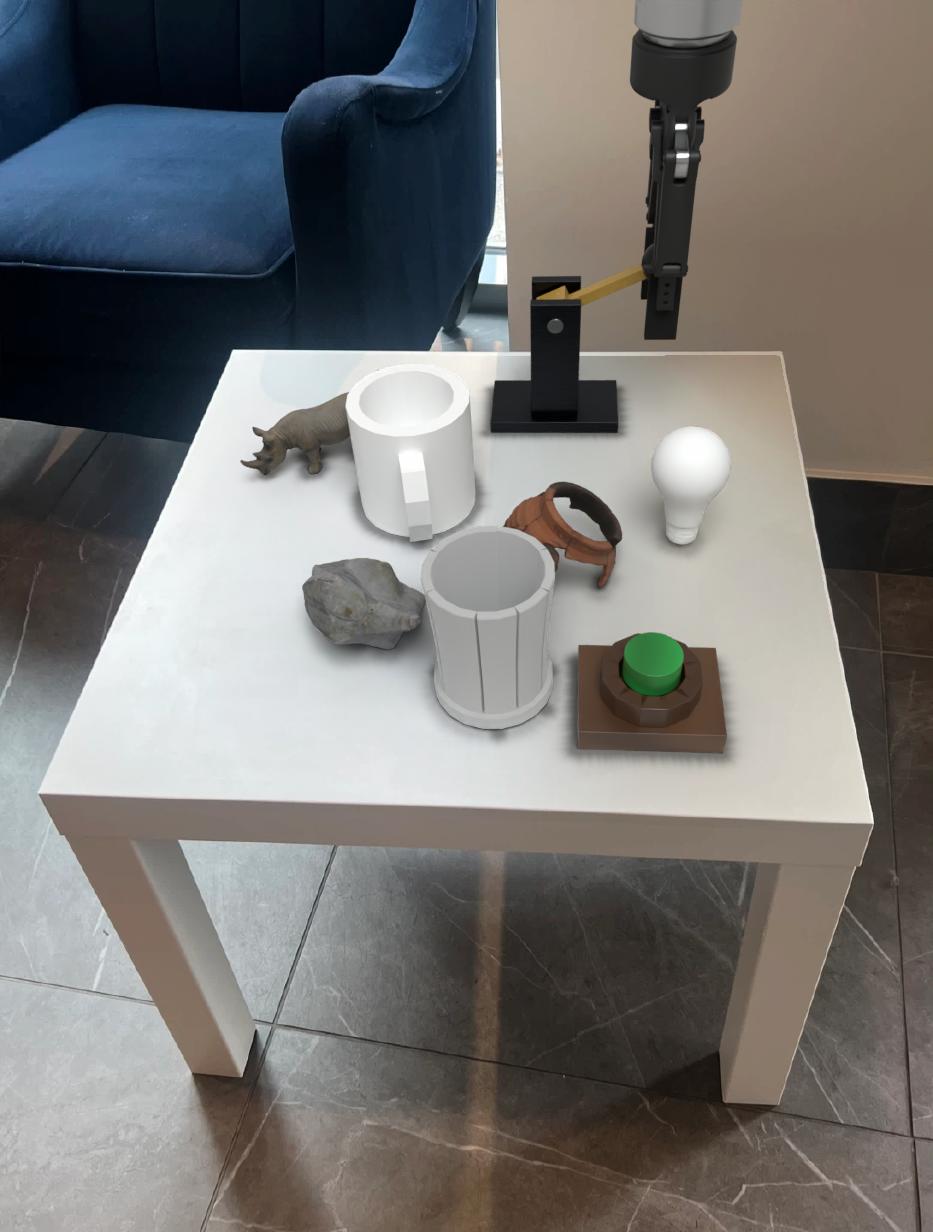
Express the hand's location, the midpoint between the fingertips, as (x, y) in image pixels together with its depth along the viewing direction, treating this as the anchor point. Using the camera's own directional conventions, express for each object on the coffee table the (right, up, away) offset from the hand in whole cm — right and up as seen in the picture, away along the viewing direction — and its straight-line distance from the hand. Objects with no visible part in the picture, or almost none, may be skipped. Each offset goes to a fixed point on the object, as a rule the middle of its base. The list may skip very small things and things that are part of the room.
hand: (657, 316), depth 89 cm
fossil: (-24, -28, -11) cm, 39 cm away
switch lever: (-4, +1, -1) cm, 4 cm away
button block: (-4, -33, -17) cm, 37 cm away
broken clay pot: (-10, -24, -7) cm, 27 cm away
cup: (-16, -32, -14) cm, 38 cm away
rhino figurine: (-31, -12, +5) cm, 34 cm away
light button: (-4, -31, -20) cm, 37 cm away
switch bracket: (-8, -7, +8) cm, 14 cm away
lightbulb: (+1, -21, -5) cm, 21 cm away
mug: (-21, -17, 0) cm, 27 cm away
